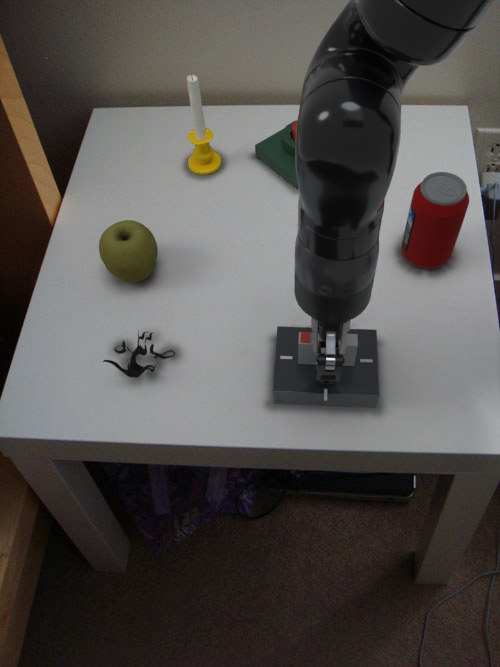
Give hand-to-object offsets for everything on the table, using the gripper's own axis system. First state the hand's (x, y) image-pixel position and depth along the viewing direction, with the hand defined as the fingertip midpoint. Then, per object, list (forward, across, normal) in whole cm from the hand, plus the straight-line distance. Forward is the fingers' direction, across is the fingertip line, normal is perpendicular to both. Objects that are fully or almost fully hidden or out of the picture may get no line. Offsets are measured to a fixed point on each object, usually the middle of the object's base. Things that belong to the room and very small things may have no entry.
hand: (326, 356), depth 70 cm
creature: (+4, +1, +23) cm, 23 cm away
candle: (+4, +37, +19) cm, 42 cm away
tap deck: (+4, 0, 0) cm, 4 cm away
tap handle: (+1, 0, 0) cm, 1 cm away
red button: (0, +39, +4) cm, 39 cm away
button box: (+4, +39, +4) cm, 39 cm away
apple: (+4, +15, +26) cm, 31 cm away
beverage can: (+4, +19, -13) cm, 24 cm away
